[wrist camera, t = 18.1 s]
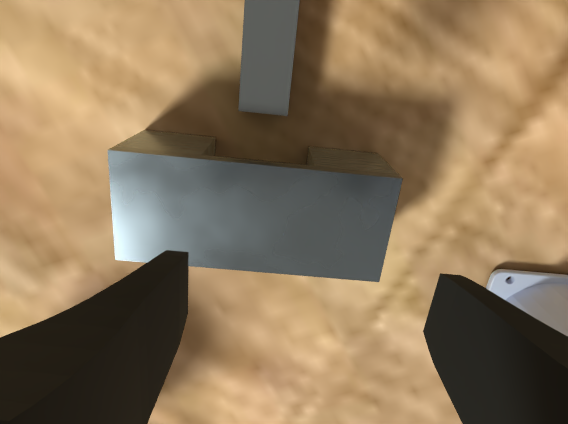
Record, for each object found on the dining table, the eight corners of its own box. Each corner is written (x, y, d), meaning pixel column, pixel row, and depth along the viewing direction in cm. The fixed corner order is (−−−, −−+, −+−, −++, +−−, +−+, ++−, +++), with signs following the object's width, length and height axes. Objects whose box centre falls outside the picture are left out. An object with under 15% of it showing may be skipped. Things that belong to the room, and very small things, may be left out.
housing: (377, 153, 20) (402, 178, 16) (360, 239, 22) (379, 281, 18) (144, 129, 20) (107, 150, 15) (147, 219, 21) (115, 259, 17)
